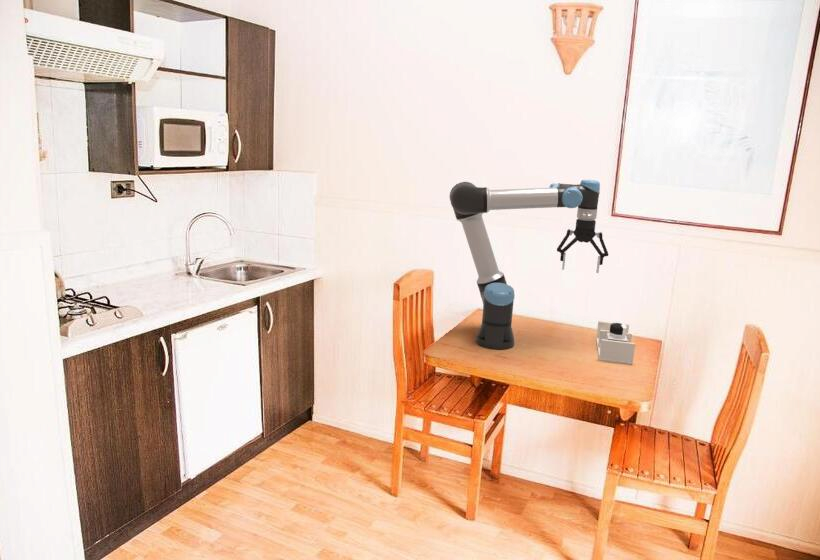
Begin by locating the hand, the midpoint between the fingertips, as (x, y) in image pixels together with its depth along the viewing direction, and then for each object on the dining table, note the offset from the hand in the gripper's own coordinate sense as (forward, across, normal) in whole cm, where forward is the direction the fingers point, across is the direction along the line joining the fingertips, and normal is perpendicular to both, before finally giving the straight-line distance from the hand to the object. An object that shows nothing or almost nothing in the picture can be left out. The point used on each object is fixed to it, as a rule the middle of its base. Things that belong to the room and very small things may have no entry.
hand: (580, 270), depth 254 cm
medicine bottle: (+28, +16, -17) cm, 37 cm away
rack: (+29, +16, -11) cm, 35 cm away
